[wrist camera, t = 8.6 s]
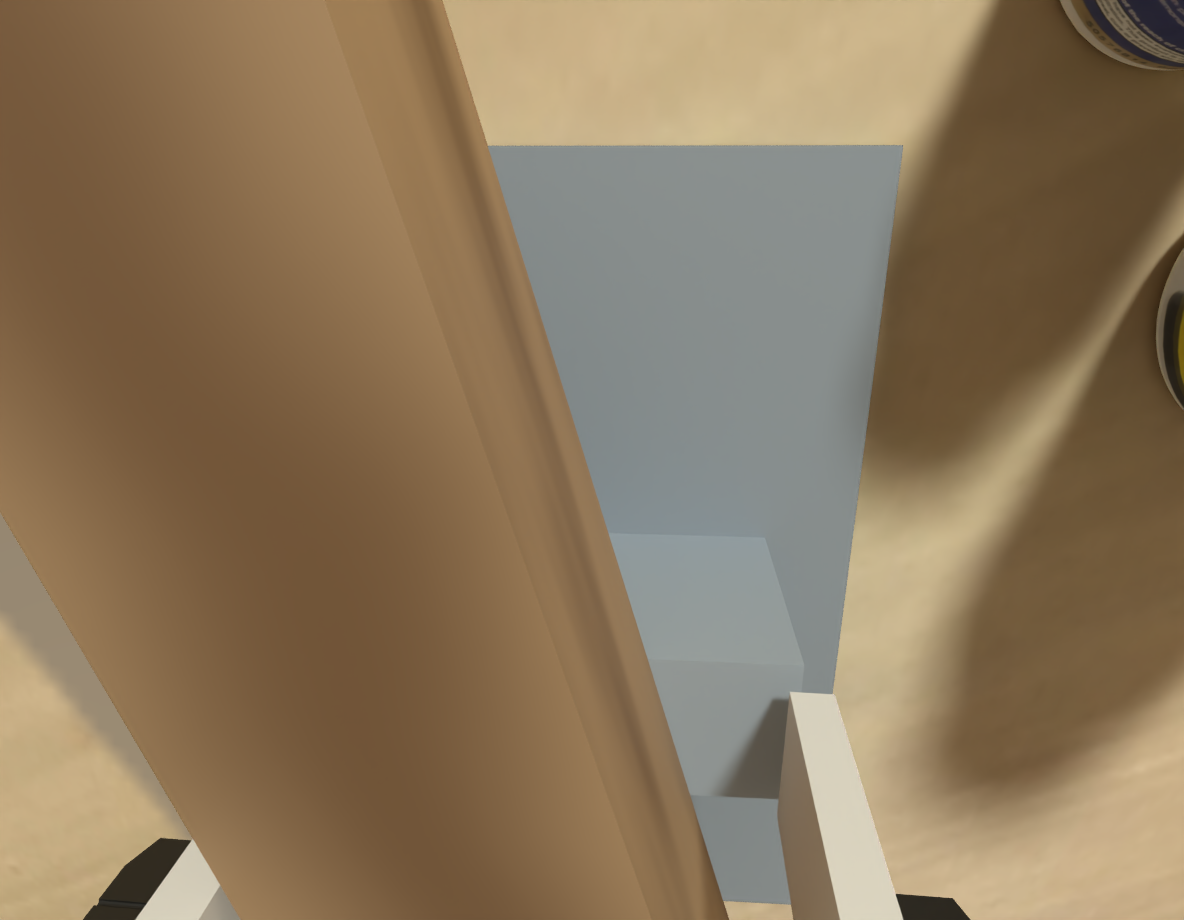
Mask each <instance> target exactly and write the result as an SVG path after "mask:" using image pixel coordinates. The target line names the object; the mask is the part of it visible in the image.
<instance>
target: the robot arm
mask: <svg viewBox="0 0 1184 920" xmlns="http://www.w3.org/2000/svg"><path fill="white" fill-rule="evenodd" d="M777 819H778V825H779V831H780V838H781V844H782V850H783V857H784V863H785V869H786V875H787V882H788V888H789V894H790V900H791V907H792V913H793V919H794V920H970V919H969V918H968V916H967V915H966V914H965V913H964V911H963V910H962V909H961V908H960V907H959V905H958V904H957V903H956V902H955V901H954V899H953V898H942V897H929V896H916V895H903V894H895V891H894V887H893V884H892V881H891V878H890V874H889V871H888V868H887V864H886V861H885V858H884V855H883V851H882V848H881V845H880V841H879V838H878V835H877V832H876V828H875V825H874V822H873V818H872V815H871V812H870V809H869V805H868V802H867V799H866V795H865V792H864V789H863V786H862V782H861V779H860V776H859V772H858V769H857V766H856V763H855V759H854V756H853V753H852V749H851V746H850V743H849V740H848V736H847V733H846V730H845V726H844V723H843V720H842V717H841V713H840V710H839V707H838V704H837V700H836V697H835V694H819V693H801V692H790V694H789V704H788V713H787V723H786V733H785V742H784V752H783V762H782V771H781V781H780V791H779V800H778V810H777ZM83 920H240V918H239V916H238V915H237V913H236V911H235V909H234V908H233V906H232V904H231V903H230V901H229V899H228V898H227V896H226V894H225V892H224V891H223V889H222V887H221V886H220V884H219V882H218V881H217V879H216V877H215V876H214V874H213V872H212V870H211V869H210V867H209V865H208V864H207V862H206V860H205V859H204V857H203V855H202V853H201V852H200V850H199V848H198V847H197V845H196V843H195V842H194V840H193V839H192V841H190V840H178V839H165V838H160V839H159V840H157V841H156V842H155V843H153V844H152V845H151V846H150V847H148V848H147V849H146V850H144V851H143V852H142V853H141V854H139V855H138V856H137V857H135V858H134V859H133V860H132V861H130V862H129V863H128V864H126V865H125V866H124V868H123V869H122V870H121V871H120V873H119V874H118V875H117V877H116V878H115V879H114V880H113V882H112V883H111V884H110V886H109V887H108V888H107V889H106V891H105V892H104V893H103V894H102V896H101V897H100V898H99V903H98V905H97V906H95V905H94V906H93V907H92V909H91V910H90V911H89V912H88V914H87V915H86V916H85V918H84V919H83Z"/></svg>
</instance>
